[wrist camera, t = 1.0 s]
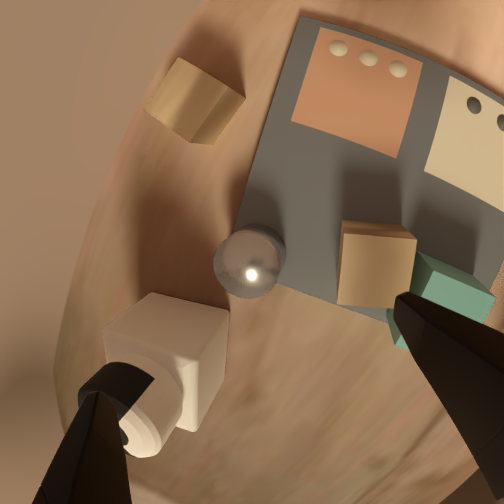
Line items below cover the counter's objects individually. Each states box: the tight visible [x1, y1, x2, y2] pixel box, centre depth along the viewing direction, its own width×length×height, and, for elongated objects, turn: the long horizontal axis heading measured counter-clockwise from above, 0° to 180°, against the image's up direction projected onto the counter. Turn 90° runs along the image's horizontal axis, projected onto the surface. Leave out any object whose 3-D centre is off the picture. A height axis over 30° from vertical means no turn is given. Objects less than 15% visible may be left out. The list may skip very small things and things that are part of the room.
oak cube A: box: [336, 220, 417, 309], centre depth 18 cm, size 4×4×4 cm
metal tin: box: [213, 224, 286, 299], centre depth 21 cm, size 4×4×3 cm
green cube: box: [386, 251, 496, 350], centre depth 18 cm, size 5×5×4 cm
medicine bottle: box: [78, 292, 230, 458], centre depth 21 cm, size 7×7×12 cm
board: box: [232, 16, 504, 323], centre depth 19 cm, size 19×18×1 cm
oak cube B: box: [144, 57, 246, 145], centre depth 19 cm, size 4×4×4 cm
